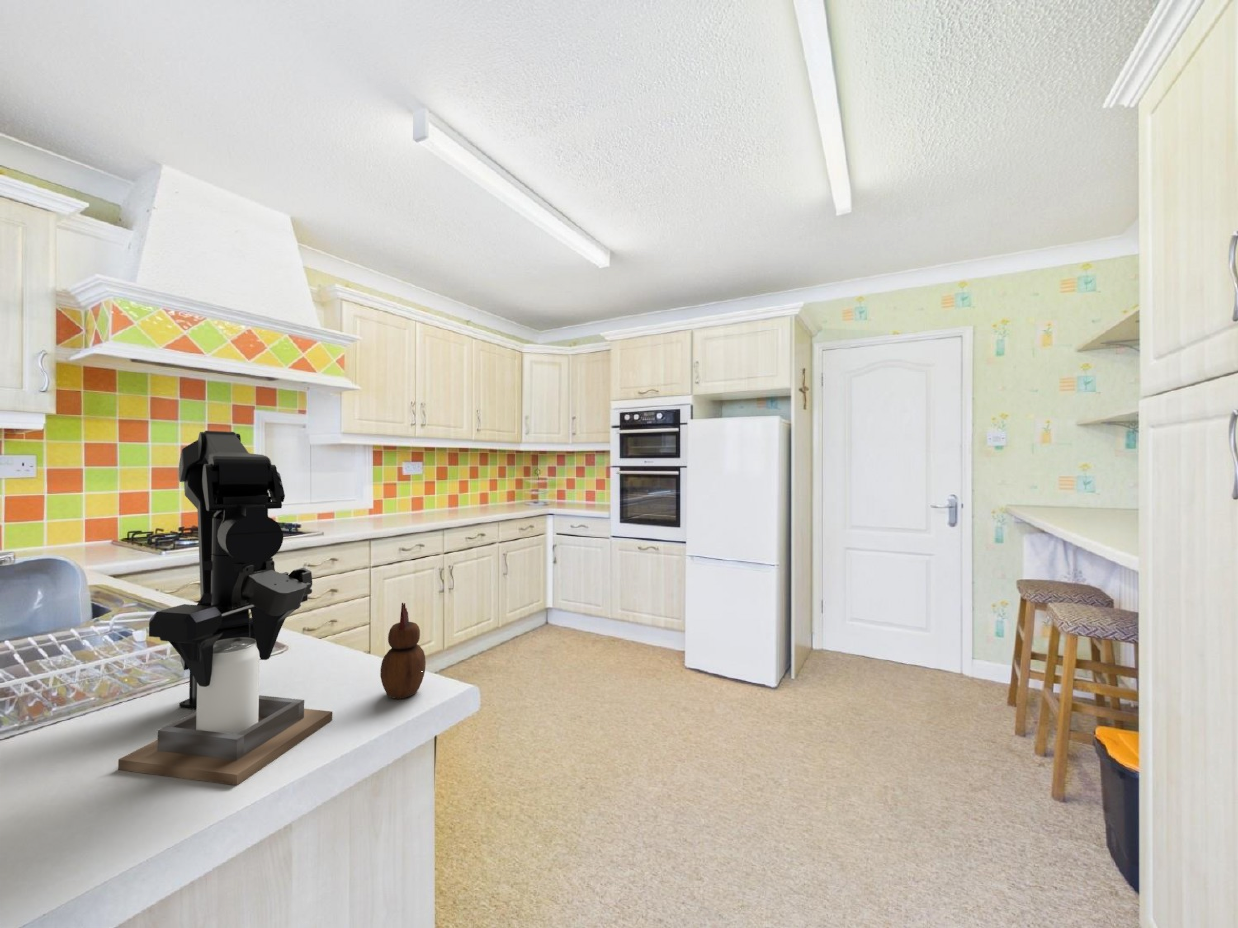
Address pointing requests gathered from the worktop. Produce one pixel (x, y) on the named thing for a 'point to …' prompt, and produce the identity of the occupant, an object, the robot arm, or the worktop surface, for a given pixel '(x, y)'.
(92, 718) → the worktop surface
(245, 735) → the holder
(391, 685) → the wooden figurine
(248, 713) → the can
